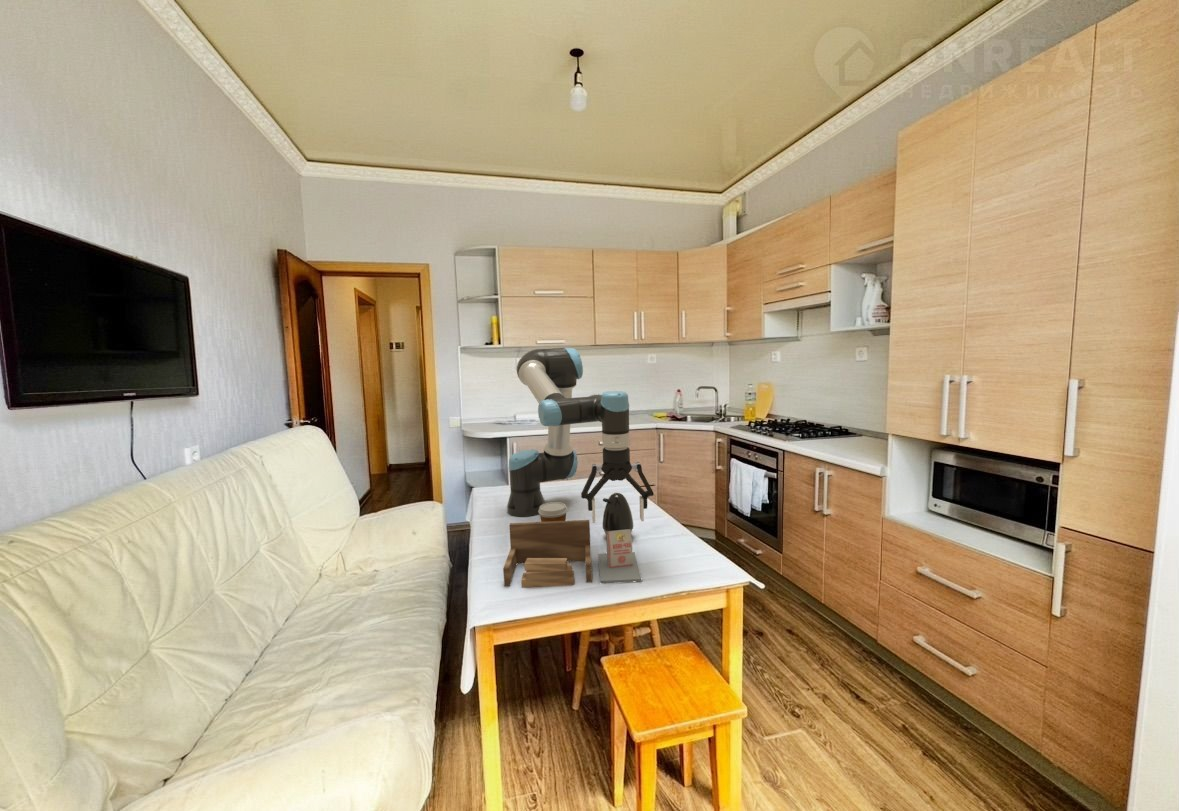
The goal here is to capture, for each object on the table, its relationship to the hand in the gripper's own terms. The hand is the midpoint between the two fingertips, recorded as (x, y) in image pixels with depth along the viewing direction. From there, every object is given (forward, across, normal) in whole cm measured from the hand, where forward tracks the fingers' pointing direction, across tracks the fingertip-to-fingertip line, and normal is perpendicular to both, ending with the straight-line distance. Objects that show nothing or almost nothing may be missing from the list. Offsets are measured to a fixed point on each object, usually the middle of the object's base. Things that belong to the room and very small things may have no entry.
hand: (617, 520), depth 127 cm
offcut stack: (+14, -20, -8) cm, 25 cm away
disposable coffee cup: (+14, -20, +18) cm, 31 cm away
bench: (+14, -20, -2) cm, 24 cm away
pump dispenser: (+14, +1, +19) cm, 24 cm away
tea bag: (+13, 0, -1) cm, 13 cm away
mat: (+14, 0, -2) cm, 14 cm away
